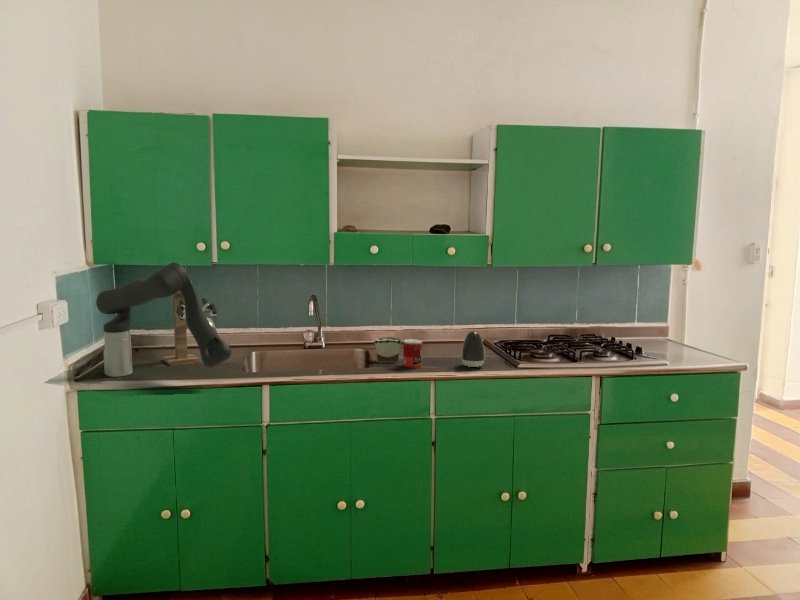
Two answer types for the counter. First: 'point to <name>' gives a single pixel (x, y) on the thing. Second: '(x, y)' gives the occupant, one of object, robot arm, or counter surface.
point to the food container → (387, 349)
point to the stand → (180, 337)
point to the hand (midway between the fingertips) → (192, 300)
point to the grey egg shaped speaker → (473, 350)
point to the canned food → (412, 353)
